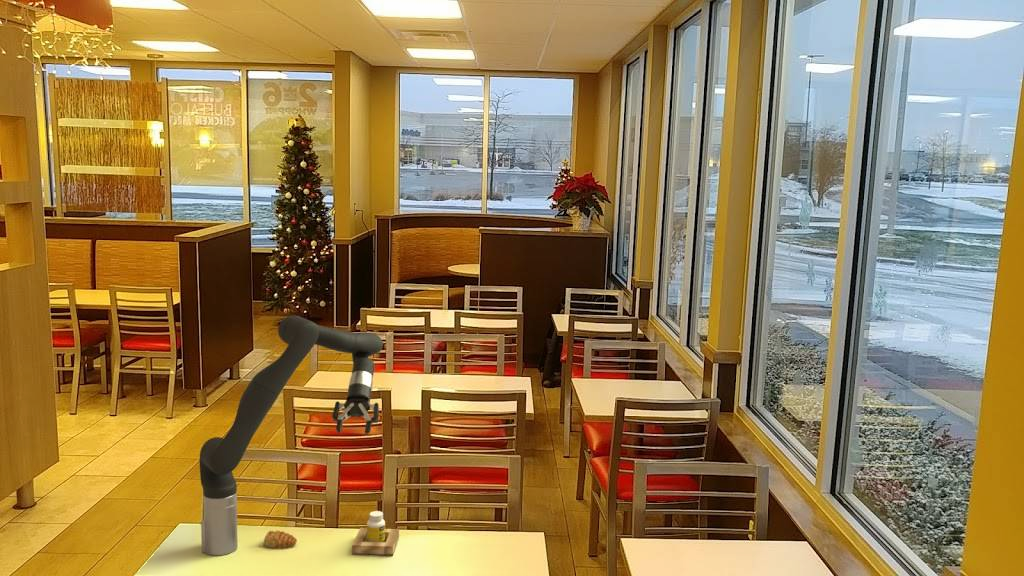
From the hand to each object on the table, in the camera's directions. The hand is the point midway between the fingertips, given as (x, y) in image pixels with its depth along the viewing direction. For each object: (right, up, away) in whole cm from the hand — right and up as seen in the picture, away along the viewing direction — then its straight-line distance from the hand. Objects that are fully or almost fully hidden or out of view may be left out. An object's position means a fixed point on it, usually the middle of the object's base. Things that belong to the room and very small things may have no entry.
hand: (352, 433), depth 251 cm
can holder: (+9, -32, -10) cm, 35 cm away
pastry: (-20, -32, -10) cm, 39 cm away
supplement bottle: (+9, -32, -10) cm, 35 cm away
